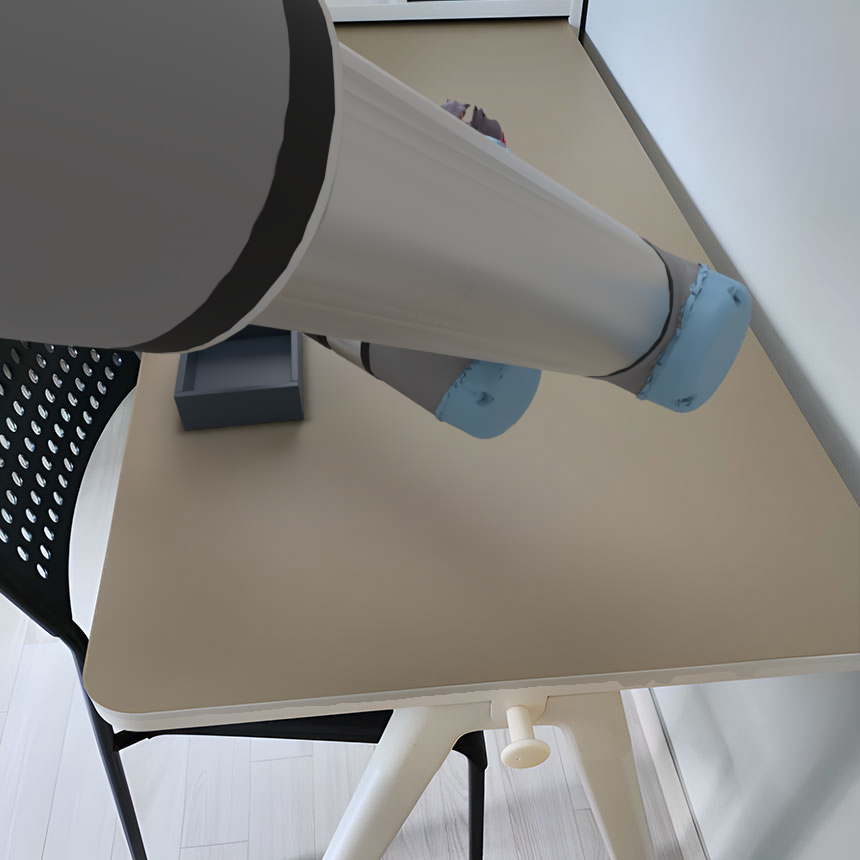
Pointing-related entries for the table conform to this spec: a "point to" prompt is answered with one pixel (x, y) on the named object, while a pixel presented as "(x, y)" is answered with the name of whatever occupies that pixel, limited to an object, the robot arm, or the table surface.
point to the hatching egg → (476, 119)
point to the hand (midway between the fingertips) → (181, 209)
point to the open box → (242, 380)
